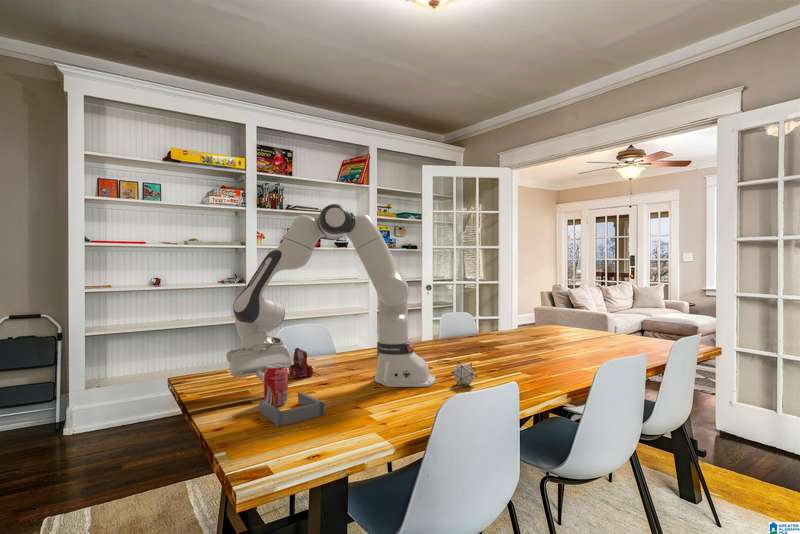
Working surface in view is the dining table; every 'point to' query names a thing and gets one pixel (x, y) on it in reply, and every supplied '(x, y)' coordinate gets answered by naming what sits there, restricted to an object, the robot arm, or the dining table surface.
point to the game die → (464, 374)
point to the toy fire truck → (300, 364)
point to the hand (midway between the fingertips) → (267, 381)
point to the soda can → (276, 384)
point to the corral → (293, 410)
